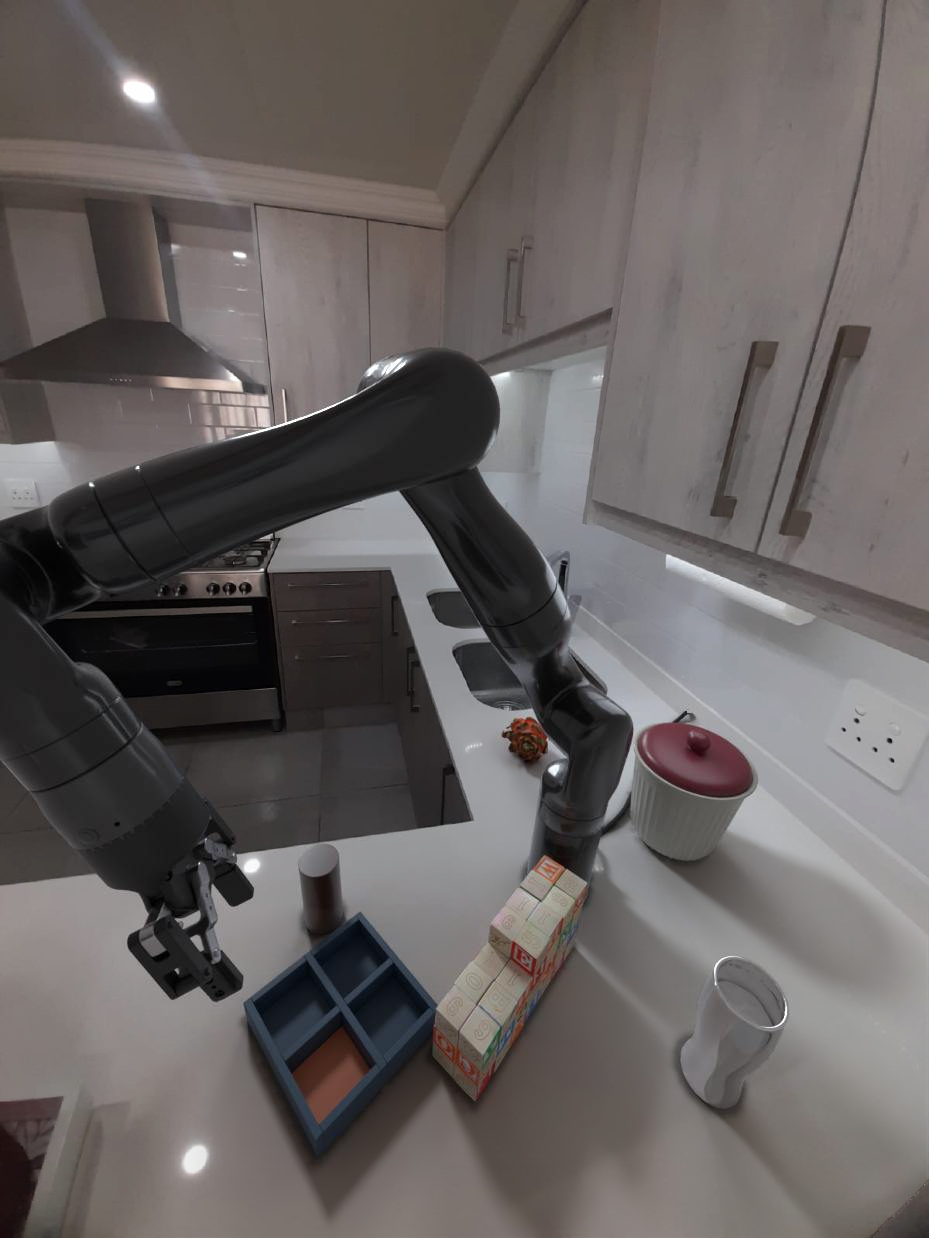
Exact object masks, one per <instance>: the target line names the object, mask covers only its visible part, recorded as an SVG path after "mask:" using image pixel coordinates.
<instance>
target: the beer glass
mask: <svg viewBox="0 0 929 1238" xmlns="http://www.w3.org/2000/svg"><path fill="white" fill-rule="evenodd" d="M789 1019H790V1006H789V1002H788V999H787V997H786V994H785V992H784V990H783V989H782V987H781V986H780V984H779V982H777V980H776V979H775V978H774V977H773V976H772V975H771V974H770V973H769V972H768V971H767V970H766V969H764V968H763V967H762V966H760V965H759V964H758V963H756V962H754V961H752V960H750V959H748V958H746V957H743V956H737V955H728V956H724V957H722V958H720V959H719V960H717V962H716V963H715V965H714V967H713V969H712V971H711V972H710V974H709V976H708V977H707V978H706V980H705V983H704V985H703V986H702V988H701V991H700V994H699V997H698V1000H697V1005H696V1011H695V1020H694V1030H693V1034H692V1036H691V1037H690V1038H689V1039H687V1041H686V1042H685V1043H684V1044H683V1045H682V1047H681V1050H680V1058H679V1059H680V1067H681V1071H682V1074H683V1077H684V1078H685V1080H686V1082H687V1084H688V1086H689V1087H690V1088H691V1090H692V1091H693V1092H694V1093H695V1095H696V1096H698V1097H699V1098H700V1099H701V1100H702V1101H703V1102H705V1103H706V1104H708V1105H710V1106H711V1107H714V1108H715V1109H721V1110H722V1109H723V1110H725V1109H731V1108H732V1107H734V1106H735V1105H736V1104H737V1103H739V1100H740V1098H741V1095H742V1091H743V1086H744V1085H743V1084H744V1080H745V1079H746V1078H747V1077H749V1076H750V1075H752V1074H753V1073H754V1072H756V1071H757V1070H758V1069H760V1068H761V1067H762V1066H763V1065H764V1064H765V1063H766V1062H767V1061H769V1059H770V1058H771V1056H772V1055H773V1053H774V1052H775V1050H776V1049H777V1047H778V1045H779V1044H780V1043H779V1042H781V1041H780V1040H781V1038H782V1035H783V1032H784V1031H785V1028H786V1025H787V1024H788V1021H789Z"/></svg>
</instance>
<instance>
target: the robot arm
mask: <svg viewBox="0 0 929 1238" xmlns="http://www.w3.org/2000/svg"><path fill="white" fill-rule="evenodd" d="M355 390H356V391H355V394H353V395H352V396H350V397H348V398H346V399H344V400H342V401H339V402H338V403H335V404H332V405H330V406H328V407H326V408H324V409H321V410H318V411H316V412H314V413H311V414H308V415H306V416H303V417H299V418H296V419H293V420H291V421H288V422H285V423H282V424H278V425H274V426H271V427H268V428H264V429H260V430H256V431H252V432H249V433H245V434H244V433H243V434H240V435H236V436H231V437H227V438H224V439H219V440H215V441H211V442H208V443H207V442H206V443H204V444H200V445H195V446H192V447H188V448H185V449H182V450H177V451H175V452H172V453H168V454H165V455H161V456H159V457H156V458H155V457H154V458H152V459H149V460H147V461H144V462H140V463H139V464H135V465H132V466H130V467H126V468H124V469H121V470H118V471H115V472H112V473H109V474H107V475H104V476H100V477H99V478H96V479H94V480H90V481H86V482H84V483H82V484H79V485H77V486H74V487H72V488H70V489H68V490H66V491H65V492H63V493H60V494H58V496H56V497H54V498H53V499H52V500H51V501H50V502H49V504H47V505H43V506H40V507H36V508H34V509H30V510H28V511H24V512H21V513H17V514H14V515H12V516H9V517H6V518H3V519H0V761H1V762H2V764H3V765H4V766H5V767H6V768H7V769H8V770H9V771H10V773H11V774H12V775H13V776H14V777H15V778H16V779H17V780H18V782H20V784H21V785H22V786H23V787H24V788H25V790H27V791H28V793H29V794H30V795H31V796H32V797H33V800H34V801H35V802H36V804H37V806H38V807H39V809H40V811H41V812H42V814H43V816H44V817H45V818H46V820H47V821H48V822H49V823H50V825H51V826H52V827H53V828H54V829H55V830H56V831H57V833H59V835H61V837H62V838H63V839H64V840H65V841H66V842H67V843H68V844H69V846H70V847H71V848H72V849H73V850H74V851H75V852H76V854H77V855H79V857H80V858H81V859H82V860H83V861H84V862H85V864H87V865H88V867H89V868H90V869H91V870H92V871H93V872H94V873H95V874H96V875H97V877H98V878H99V879H100V880H101V881H102V882H103V883H104V884H105V885H106V886H107V887H108V888H110V889H112V890H117V891H127V892H131V893H136V894H137V895H139V897H140V899H141V901H142V903H143V906H144V909H145V910H146V912H147V917H146V919H145V922H144V924H143V926H142V927H141V928H139V929H137V930H135V931H133V932H131V933H130V934H129V935H128V937H127V938H126V945H127V949H128V951H129V952H130V953H131V954H132V955H133V957H134V959H136V961H138V963H139V964H140V965H141V966H142V967H143V969H144V970H145V971H146V972H147V973H148V975H149V976H150V977H151V978H152V979H153V980H154V982H155V983H156V984H157V985H158V987H160V989H161V990H162V991H163V993H165V994H166V996H167V997H168V998H169V999H170V1000H171V1001H175V1000H177V999H179V998H180V997H183V996H184V995H186V994H188V993H190V992H192V991H193V990H195V989H197V988H200V989H201V990H202V991H203V992H204V994H205V995H206V996H208V998H209V999H210V1001H212V1002H214V1003H219V1002H220V1001H223V1000H225V999H227V998H229V997H230V996H233V995H234V994H236V993H238V992H240V991H241V990H242V989H243V988H244V987H243V986H244V974H243V973H242V972H241V971H240V970H239V969H238V967H237V966H236V965H235V964H234V962H232V960H231V959H230V957H228V955H227V954H226V953H225V952H224V951H223V949H221V947H220V944H219V942H218V938H217V935H216V930H215V926H216V924H217V922H218V921H219V920H218V919H219V916H218V912H217V909H216V906H215V903H214V899H213V896H212V887H213V886H214V888H215V889H216V890H217V892H218V893H219V894H220V896H221V897H222V898H223V900H225V902H226V903H227V904H228V906H229V907H232V908H235V907H237V906H238V907H239V906H240V905H241V904H245V903H246V902H248V901H250V900H252V899H253V897H254V893H255V887H254V886H253V884H252V883H251V882H250V880H249V878H247V876H246V875H245V873H244V872H243V870H241V867H239V865H238V864H237V862H238V856H237V853H236V852H235V850H234V849H232V847H233V846H234V845H236V844H237V837H236V834H235V833H234V832H233V830H232V829H231V828H230V826H229V825H228V824H227V822H226V820H224V819H223V817H222V816H221V814H220V813H219V812H218V811H217V809H216V808H215V806H214V805H213V804H212V803H211V802H210V800H209V799H208V798H207V796H201V795H200V794H199V792H198V791H197V790H196V788H195V787H194V785H193V784H192V782H191V781H190V780H189V779H188V777H187V776H186V774H185V773H184V772H183V770H182V769H181V768H180V766H179V765H178V764H177V762H176V761H175V759H174V758H173V756H172V755H171V753H170V752H169V751H168V749H167V748H166V747H165V745H164V744H163V742H162V741H160V739H159V738H157V737H156V735H154V734H153V733H152V732H151V730H149V728H148V727H146V726H145V724H144V723H143V722H142V721H141V719H140V718H139V717H138V715H137V714H136V712H135V711H134V710H133V708H132V707H131V705H130V704H129V703H128V701H127V700H126V698H125V697H124V696H123V694H122V693H121V692H120V690H119V689H118V687H117V686H116V684H115V683H113V681H112V679H110V678H109V676H108V675H107V674H106V673H105V672H104V671H103V670H102V669H101V668H99V667H98V666H96V665H94V664H92V663H89V662H84V661H74V660H72V659H71V657H69V656H68V654H67V653H66V652H65V651H64V650H63V649H62V648H61V647H60V646H59V645H58V643H57V642H56V641H55V640H54V639H53V638H52V637H51V636H50V635H49V634H48V633H47V631H46V630H45V629H44V628H43V626H44V625H47V624H48V623H50V622H53V621H55V620H57V619H60V618H61V617H63V616H65V615H68V614H70V613H72V612H74V611H77V610H79V609H81V608H84V607H86V606H88V605H90V604H93V603H95V602H98V601H100V600H101V599H104V598H106V597H108V596H111V595H116V596H117V595H125V594H128V593H132V592H136V591H139V590H142V589H146V588H148V587H150V586H153V585H155V584H158V583H159V582H162V581H166V580H167V579H169V578H173V577H174V576H177V575H179V574H181V573H184V572H186V571H189V570H191V569H193V568H195V567H197V566H200V565H202V564H205V563H207V562H209V561H212V560H214V559H216V558H218V557H221V556H223V555H225V554H228V553H230V552H233V551H234V550H237V549H239V548H241V547H244V546H247V545H249V544H251V543H253V542H256V541H259V540H261V539H262V538H265V537H268V536H270V535H272V534H274V533H278V532H280V531H282V530H284V529H287V528H289V527H292V526H295V525H297V524H299V523H302V522H305V521H307V520H310V519H313V518H316V517H319V516H321V515H323V514H326V513H327V514H328V513H329V512H332V511H334V510H339V509H341V508H344V507H348V506H350V505H354V504H357V503H360V502H363V501H365V500H370V499H373V498H374V499H375V498H377V497H379V496H384V495H387V494H391V493H392V494H393V493H396V492H398V493H399V494H400V495H401V496H402V497H403V499H404V501H406V503H407V504H408V506H409V507H410V509H412V511H413V512H414V514H415V515H416V516H417V517H418V520H420V522H421V523H422V525H423V526H424V528H425V529H426V531H427V533H428V535H429V536H430V538H431V540H432V541H433V543H434V545H435V547H436V549H437V551H438V553H439V554H440V557H441V559H442V560H443V562H444V565H445V566H446V569H447V570H448V572H449V574H450V575H451V577H452V579H453V581H454V582H455V584H456V586H457V588H458V589H459V591H460V592H461V595H462V596H463V598H464V599H465V601H466V603H467V605H468V606H469V608H470V611H471V613H472V614H473V617H475V620H476V621H477V622H478V625H479V626H480V628H481V630H482V631H483V633H484V634H485V636H486V637H487V639H488V640H489V642H490V644H491V645H492V646H493V647H494V649H495V650H496V652H497V653H498V655H499V657H500V658H501V659H502V660H503V662H504V663H505V664H506V666H507V667H508V668H509V670H510V671H511V672H512V673H513V674H514V675H515V677H516V678H517V679H518V680H519V682H520V684H521V686H522V687H523V690H524V692H525V694H526V697H527V699H528V701H529V703H530V706H531V708H532V711H533V713H534V716H535V719H536V721H537V722H538V723H539V725H540V727H541V729H542V730H543V732H544V734H545V735H546V736H547V739H548V740H549V741H550V742H551V743H552V744H553V745H554V746H555V747H556V748H557V749H558V750H559V752H560V753H562V755H564V758H559V759H556V760H554V761H551V762H550V763H548V764H547V765H546V767H545V768H544V769H543V771H542V774H541V777H540V785H539V790H538V797H537V805H536V812H535V816H534V817H535V818H534V823H533V829H532V836H531V842H530V848H529V855H528V861H527V866H526V869H525V878H526V877H527V875H528V874H529V873H530V871H531V870H533V869H534V867H535V866H536V865H537V864H538V863H539V861H540V860H541V859H542V857H543V856H544V855H545V856H547V857H549V858H550V859H552V860H553V861H555V862H557V863H558V864H560V865H561V866H563V867H564V868H565V870H566V869H568V870H569V871H571V872H572V873H573V874H575V875H576V876H578V877H579V878H581V879H582V880H584V881H585V882H587V889H586V893H585V897H584V902H586V900H587V897H588V895H589V891H590V884H591V880H592V875H593V872H594V867H595V863H596V860H597V859H596V858H597V854H598V850H599V846H600V842H601V837H602V835H604V834H606V833H607V832H608V831H610V830H611V829H612V828H613V827H615V825H616V824H618V822H619V821H621V820H622V818H623V817H624V816H625V815H626V813H627V811H628V810H630V809H629V808H631V793H632V789H631V790H630V793H629V794H628V797H627V798H626V801H625V803H624V805H623V806H622V808H621V809H620V811H619V812H618V813H617V814H616V815H615V816H614V817H613V818H612V819H611V820H610V821H608V822H607V823H606V824H605V819H606V815H607V811H608V806H609V804H610V803H609V802H610V801H611V799H612V797H613V795H614V794H615V792H616V791H617V788H618V787H619V785H620V782H621V779H622V775H623V771H624V769H625V765H626V762H627V759H628V756H629V753H630V750H631V747H632V744H633V740H634V721H633V718H632V717H631V715H630V713H629V712H628V711H626V709H624V708H623V707H622V706H620V705H619V704H618V703H617V702H615V701H614V700H613V699H611V698H610V697H609V696H608V695H607V694H605V693H604V692H603V691H602V690H601V689H599V688H598V687H596V686H595V685H594V684H593V683H591V682H590V681H589V680H588V678H587V677H585V675H584V674H583V672H582V671H581V670H580V668H579V666H578V665H577V663H576V661H575V659H574V657H573V656H572V654H571V651H570V648H569V644H570V641H571V637H572V629H573V617H572V612H571V610H570V607H569V606H570V605H569V602H568V600H567V598H566V596H565V593H564V591H563V589H562V587H561V584H560V583H559V579H558V578H557V575H556V573H555V571H554V570H553V567H552V565H551V564H550V562H549V560H548V558H547V557H546V556H545V554H544V553H543V552H542V551H541V550H540V548H539V547H538V545H537V544H536V543H535V542H534V541H533V539H532V538H531V537H530V535H528V533H527V532H526V531H525V530H524V529H523V527H522V526H521V525H520V524H519V523H518V522H517V521H516V520H515V518H513V516H512V515H510V513H509V512H508V511H507V510H506V508H504V506H503V505H502V504H501V502H499V500H498V499H497V498H496V497H495V495H494V494H493V492H492V491H491V489H490V488H489V486H488V485H487V483H486V481H485V480H484V478H483V475H482V474H481V471H480V470H479V467H478V465H479V464H480V463H481V462H482V461H483V460H484V459H485V458H486V457H487V455H488V454H489V452H490V451H491V449H492V448H493V446H494V443H495V442H496V439H497V436H498V432H499V428H500V424H501V402H500V397H499V394H498V391H497V388H496V385H495V383H494V381H493V380H492V377H491V375H490V374H489V373H488V372H487V371H486V370H485V368H484V367H483V366H482V364H480V363H478V362H477V360H475V359H474V358H473V357H472V356H469V355H467V354H465V353H463V352H461V351H458V350H454V349H452V348H451V349H450V348H446V347H432V346H431V347H430V346H427V347H422V348H417V349H413V350H409V351H405V352H399V353H395V354H393V355H389V356H386V357H384V358H381V359H379V360H378V361H375V362H374V363H373V364H372V365H370V366H369V367H368V368H367V369H366V370H365V372H364V373H363V375H362V376H361V378H360V380H359V381H358V384H357V388H356V389H355ZM688 714H689V713H687V711H686V710H684V711H683V712H682V713H681V714H680V715H679V716H678V717H676V718H675V719H673V721H672V722H673V723H680V721H682V720H683V719H684V718H685V717H686V716H687V715H688ZM689 715H690V714H689ZM604 824H605V825H604ZM212 834H218V835H219V837H217V838H215V839H213V838H210V837H209V836H211V835H212ZM197 912H199V914H200V915H199V916H200V917H199V920H198V921H196V922H194V923H191V924H190V925H188V926H186V927H185V926H184V922H183V921H182V920H179V921H177V920H178V919H185V918H187V917H189V916H191V915H194V914H195V913H197ZM195 936H198V937H199V938H200V943H201V945H202V948H203V949H202V950H200V949H199V948H198V947H197V946H196V944H195V942H193V940H192V939H191V938H193V937H195ZM176 969H177V971H178V972H177V971H176Z"/></svg>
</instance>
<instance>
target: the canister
mask: <svg viewBox="0 0 929 1238" xmlns="http://www.w3.org/2000/svg"><path fill="white" fill-rule="evenodd" d="M632 748H633V752H634V754H635V756H634V765H633V773H632V784H631V790H632V793H631V805H630V818H631V823H632V826H633V827H634V830H635V831H636V833H637V835H638V836H639V837H640V838H641V840H642V841H643V842H644V843H645V844H646V845H647V846H649V848H651V849H652V850H654V851H656V852H657V854H661V855H662V856H664V857H668V858H669V859H674V860H676V861H681V862H685V861H687V862H691V861H697V860H701V859H704V858H705V857H706V856H708V855H709V854H711V852H713V851H714V850H715V848H716V847H717V845H718V844H719V843H720V841H721V839H722V838H723V836H724V835H725V833H726V831H727V830H728V828H729V826H731V825H730V824H731V823H732V821H733V820H734V818H735V816H736V814H737V813H738V811H739V809H740V807H741V806H742V804H743V803H744V801H745V799H747V798H748V797H750V796H751V795H752V794H753V793H754V792H755V791H756V789H757V787H758V784H759V774H758V771H757V769H756V767H755V765H754V763H753V762H752V761H751V759H750V758H749V757H748V756H747V755H746V754H745V753H744V752H743V750H741V749H740V748H739V747H738V746H736V745H735V744H733V743H732V742H730V741H729V740H727V739H726V738H725V737H723V736H721V735H720V734H718V733H715V732H713V731H711V730H709V729H706V728H703V727H701V726H697V725H694V724H689V723H683V722H678V723H673V721H669V722H668V721H667V722H666V721H665V722H656V723H651V724H648V725H646V726H643V727H642V728H641V729H639V730H638V731H637V732H636V734H635V735H634V737H633V740H632Z"/></svg>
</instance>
